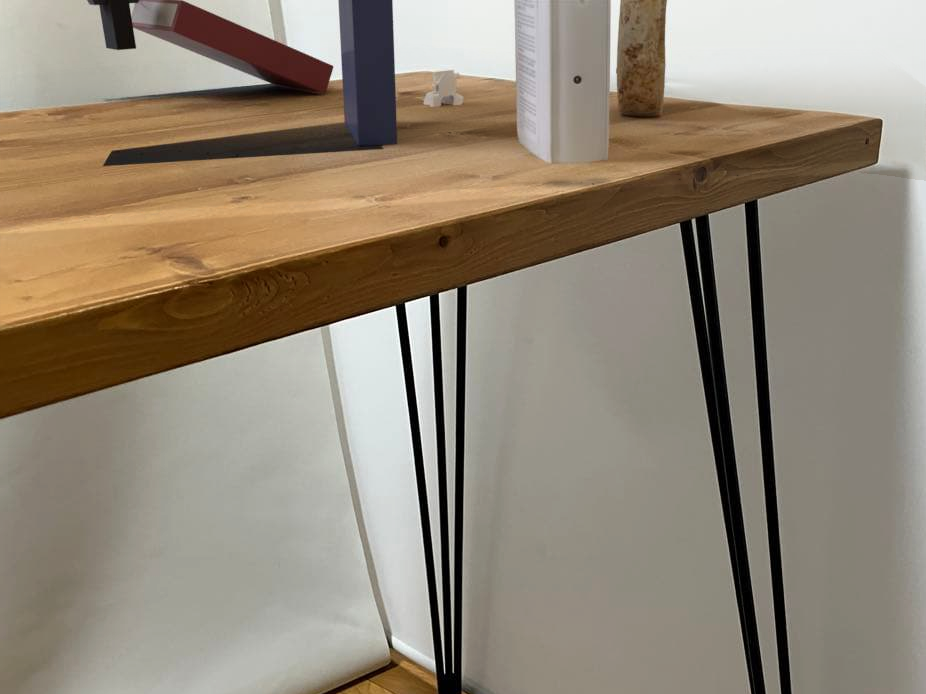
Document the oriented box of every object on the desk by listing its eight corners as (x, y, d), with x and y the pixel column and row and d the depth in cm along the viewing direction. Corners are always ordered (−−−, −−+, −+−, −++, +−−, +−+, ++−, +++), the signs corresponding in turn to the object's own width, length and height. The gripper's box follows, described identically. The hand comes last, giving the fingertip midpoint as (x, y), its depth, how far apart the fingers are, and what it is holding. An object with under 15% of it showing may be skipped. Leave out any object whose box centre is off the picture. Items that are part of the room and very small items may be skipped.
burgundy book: (173, 31, 86) (181, -1, 86) (127, 25, 94) (135, -4, 93) (325, 94, 96) (334, 66, 96) (273, 84, 103) (281, 58, 103)
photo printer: (617, 169, 65) (620, -58, 61) (547, 174, 64) (543, -57, 60) (573, 141, 75) (572, -58, 70) (510, 145, 74) (505, -57, 69)
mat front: (103, 174, 67) (101, 166, 67) (122, 140, 78) (121, 133, 78) (385, 156, 71) (384, 149, 70) (363, 126, 82) (363, 119, 82)
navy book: (347, -93, 66) (389, -92, 67) (333, -88, 75) (370, -88, 76) (358, 145, 71) (397, 144, 72) (344, 123, 80) (379, 122, 81)
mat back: (157, 122, 86) (156, 115, 86) (101, 105, 96) (100, 99, 95) (350, 100, 96) (349, 94, 96) (282, 87, 105) (281, 82, 105)
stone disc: (623, 108, 89) (624, -26, 85) (669, 108, 88) (673, -27, 84) (610, 129, 79) (611, -21, 75) (663, 129, 79) (666, -22, 75)
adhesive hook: (437, 114, 88) (435, 72, 86) (419, 110, 89) (417, 70, 88) (469, 110, 89) (467, 69, 88) (450, 106, 91) (448, 67, 90)
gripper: (-18, -314, 73) (51, 57, 83) (173, -294, 81) (217, 45, 90) (-44, -295, 79) (23, 51, 88) (137, -279, 86) (181, 40, 95)
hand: (121, 48), depth 89 cm, fingers closed
